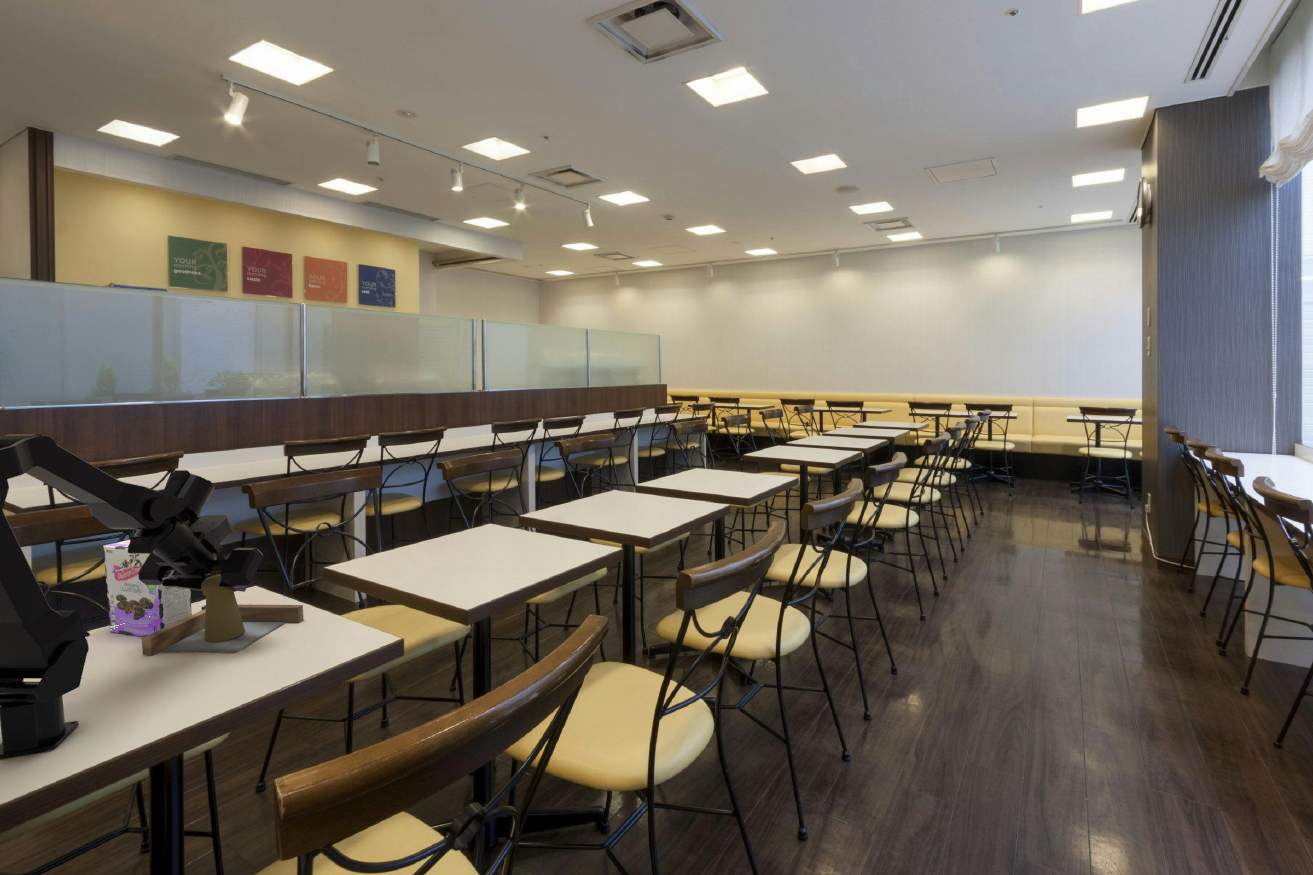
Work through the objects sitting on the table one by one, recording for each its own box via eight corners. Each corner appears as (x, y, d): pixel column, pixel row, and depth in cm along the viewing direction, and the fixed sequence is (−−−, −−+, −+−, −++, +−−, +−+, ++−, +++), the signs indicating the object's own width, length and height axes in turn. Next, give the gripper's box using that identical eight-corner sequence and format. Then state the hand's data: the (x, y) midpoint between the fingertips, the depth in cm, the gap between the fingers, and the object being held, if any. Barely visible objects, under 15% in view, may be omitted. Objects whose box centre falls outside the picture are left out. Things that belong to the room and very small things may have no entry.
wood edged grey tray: (243, 656, 105) (242, 639, 105) (134, 655, 106) (132, 638, 106) (303, 620, 122) (302, 604, 121) (208, 619, 123) (207, 604, 122)
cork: (237, 639, 111) (230, 578, 110) (198, 644, 110) (190, 583, 109) (250, 626, 117) (243, 568, 116) (213, 631, 116) (205, 572, 114)
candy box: (108, 632, 117) (100, 544, 115) (142, 621, 122) (135, 537, 121) (162, 640, 112) (155, 549, 111) (195, 628, 118) (188, 541, 117)
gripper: (253, 502, 107) (296, 550, 119) (147, 502, 108) (201, 549, 120) (221, 560, 100) (271, 605, 112) (108, 560, 101) (170, 604, 113)
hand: (228, 588), depth 114 cm, fingers open, 6 cm apart
